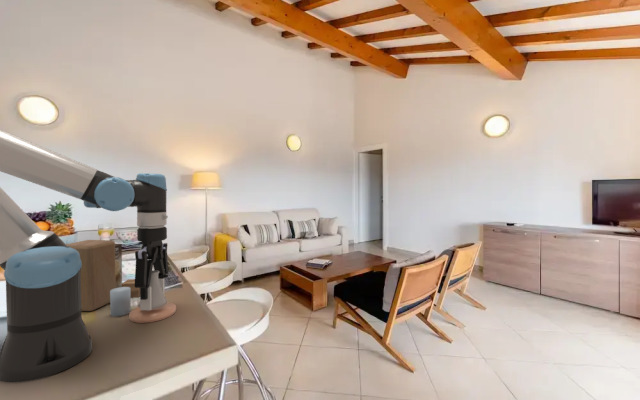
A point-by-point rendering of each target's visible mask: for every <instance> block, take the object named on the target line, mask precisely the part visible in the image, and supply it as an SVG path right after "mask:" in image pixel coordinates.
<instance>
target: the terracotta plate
mask: <svg viewBox="0 0 640 400" xmlns="http://www.w3.org/2000/svg"><path fill="white" fill-rule="evenodd" d="M176 312H177V304H175V303H173V302H168V303H166V304H165V305H164V306H161V307H158V308H155V309H151V310H140V307H138V306H137V307H135V308H133V309H132V310H131V312H130V313H128V314H129V317H128V318H129V320H130V322H132V323H137V324H145V323H147V324H149V323H153V322H158V321H162V320H165V319H168V318H170V317H172V316H174V315H175V313H176Z"/></svg>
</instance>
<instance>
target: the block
mask: <svg viewBox="0 0 640 400" xmlns="http://www.w3.org/2000/svg"><path fill="white" fill-rule="evenodd" d="M65 244H66V245H67V246H69V247H71V248H73V249H75V250H77V251H78V252H79V254H80V259H81V262H82V268H81V312H92V311H95V310H97V309H100V308H101V307H104V306H105V305H106V306H107V305H108V304H110V290H112V289H115V288H116V276H115V244H116V242H115V241H114V240H107V239H86V240H81V241H75V242H71V243H65Z"/></svg>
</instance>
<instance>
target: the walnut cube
mask: <svg viewBox="0 0 640 400" xmlns="http://www.w3.org/2000/svg"><path fill="white" fill-rule="evenodd" d="M121 287H130V292H131V298H132V299H133V298H140V288H135V278H133V279H127V280H125V281H124V282H122V286H121Z"/></svg>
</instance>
